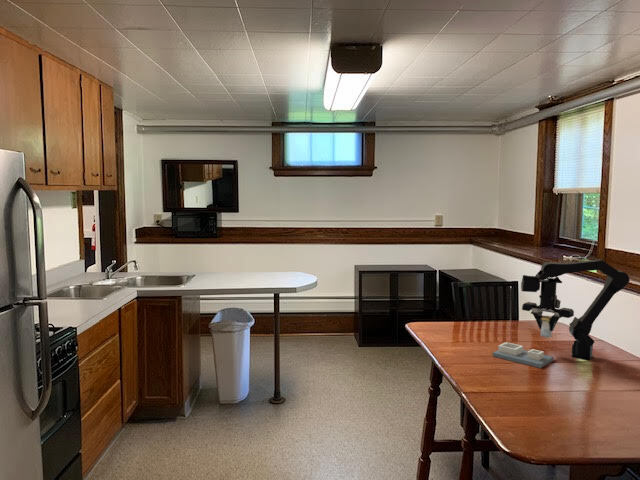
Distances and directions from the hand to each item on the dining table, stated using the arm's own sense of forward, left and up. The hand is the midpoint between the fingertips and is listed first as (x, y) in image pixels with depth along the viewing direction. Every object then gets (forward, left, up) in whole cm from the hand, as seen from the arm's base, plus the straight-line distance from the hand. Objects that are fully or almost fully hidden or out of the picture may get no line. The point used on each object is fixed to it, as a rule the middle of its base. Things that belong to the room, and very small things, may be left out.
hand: (546, 330), depth 197 cm
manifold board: (+4, +13, -10) cm, 17 cm away
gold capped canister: (0, 0, -3) cm, 2 cm away
